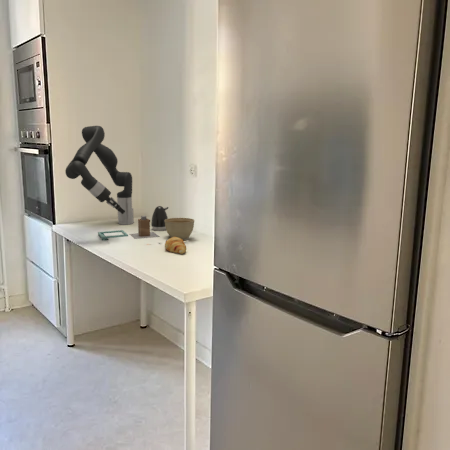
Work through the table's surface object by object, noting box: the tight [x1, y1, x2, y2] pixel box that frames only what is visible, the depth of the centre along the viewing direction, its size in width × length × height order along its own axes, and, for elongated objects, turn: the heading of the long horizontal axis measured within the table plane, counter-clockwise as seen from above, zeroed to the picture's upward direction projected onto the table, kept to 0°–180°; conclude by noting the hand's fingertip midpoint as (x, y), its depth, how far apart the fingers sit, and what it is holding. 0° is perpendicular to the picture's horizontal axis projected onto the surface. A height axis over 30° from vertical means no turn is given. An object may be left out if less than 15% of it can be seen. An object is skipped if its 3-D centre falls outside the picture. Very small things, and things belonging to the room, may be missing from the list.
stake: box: [128, 215, 161, 240], centre depth 248 cm, size 14×14×12 cm
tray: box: [97, 229, 129, 241], centre depth 250 cm, size 14×14×2 cm
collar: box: [137, 217, 151, 237], centre depth 248 cm, size 5×6×9 cm
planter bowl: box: [165, 217, 195, 241], centre depth 243 cm, size 16×16×11 cm
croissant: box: [164, 237, 187, 255], centre depth 220 cm, size 21×10×8 cm, turn 29°
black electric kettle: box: [150, 205, 169, 232], centre depth 265 cm, size 10×10×15 cm
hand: (122, 211), depth 242 cm, fingers open, 8 cm apart
